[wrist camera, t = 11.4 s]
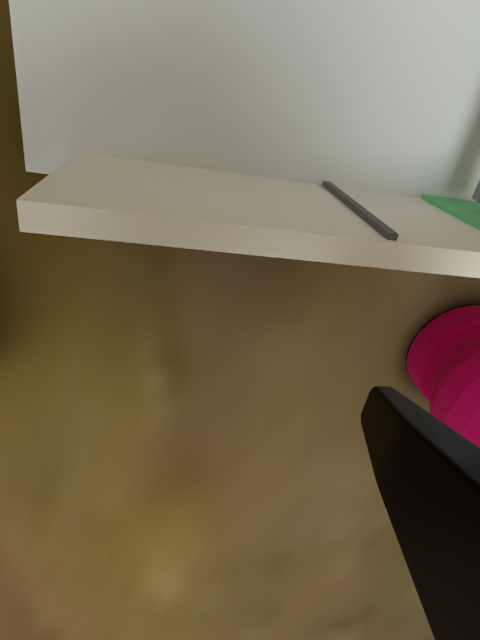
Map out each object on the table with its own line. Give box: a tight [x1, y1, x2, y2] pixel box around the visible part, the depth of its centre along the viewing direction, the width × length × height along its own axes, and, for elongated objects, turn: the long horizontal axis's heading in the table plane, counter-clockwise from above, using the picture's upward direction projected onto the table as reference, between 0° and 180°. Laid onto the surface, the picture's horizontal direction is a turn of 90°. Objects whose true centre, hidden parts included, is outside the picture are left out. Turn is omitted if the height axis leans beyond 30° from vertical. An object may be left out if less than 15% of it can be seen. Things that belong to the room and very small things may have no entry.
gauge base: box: [9, 0, 480, 278], centre depth 13 cm, size 26×13×8 cm, turn 81°
